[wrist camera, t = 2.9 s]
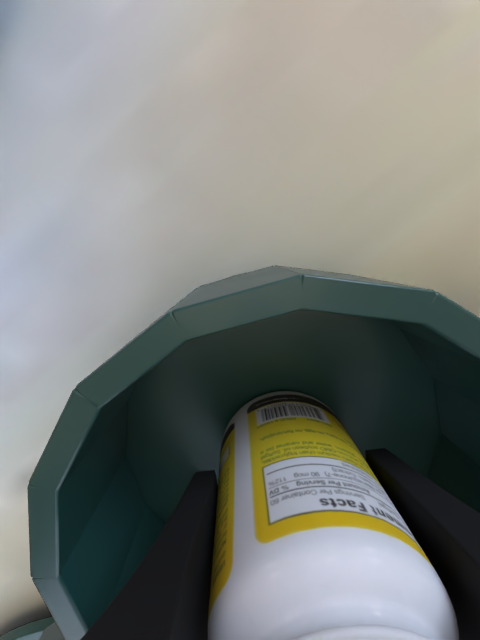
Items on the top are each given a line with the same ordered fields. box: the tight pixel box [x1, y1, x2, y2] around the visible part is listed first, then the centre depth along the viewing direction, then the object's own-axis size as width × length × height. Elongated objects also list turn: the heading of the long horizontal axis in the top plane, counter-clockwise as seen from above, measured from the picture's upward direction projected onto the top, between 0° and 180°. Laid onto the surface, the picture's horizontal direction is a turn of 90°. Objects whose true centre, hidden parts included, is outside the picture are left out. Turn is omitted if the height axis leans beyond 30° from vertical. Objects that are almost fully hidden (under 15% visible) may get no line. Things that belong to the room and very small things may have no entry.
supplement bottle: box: [208, 391, 459, 640], centre depth 7 cm, size 5×5×8 cm
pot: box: [28, 266, 480, 640], centre depth 10 cm, size 13×19×5 cm
